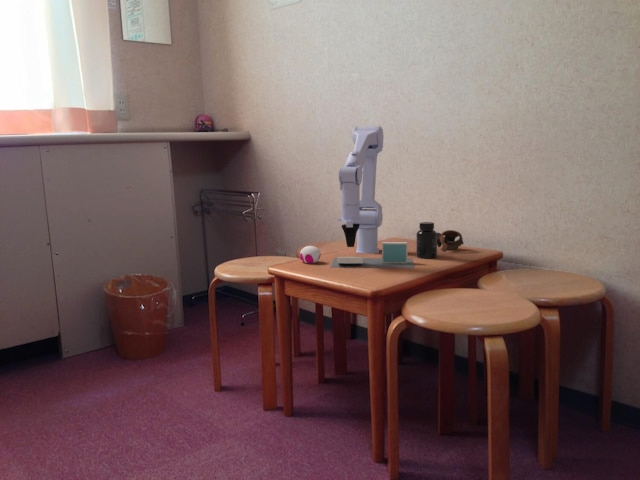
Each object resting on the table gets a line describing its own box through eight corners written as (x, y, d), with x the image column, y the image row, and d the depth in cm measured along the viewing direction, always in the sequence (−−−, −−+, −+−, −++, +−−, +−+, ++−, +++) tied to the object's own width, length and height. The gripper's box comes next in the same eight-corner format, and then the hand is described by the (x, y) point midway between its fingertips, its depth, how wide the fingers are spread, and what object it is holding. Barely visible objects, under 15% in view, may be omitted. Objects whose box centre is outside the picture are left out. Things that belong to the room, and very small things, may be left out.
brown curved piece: (466, 250, 207) (468, 232, 202) (455, 265, 201) (457, 247, 196) (436, 239, 213) (438, 222, 207) (424, 253, 207) (425, 236, 202)
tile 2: (381, 261, 183) (382, 242, 182) (406, 262, 182) (407, 242, 181) (382, 263, 181) (382, 243, 180) (407, 263, 180) (407, 243, 179)
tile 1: (338, 256, 182) (337, 257, 176) (363, 257, 182) (362, 257, 175) (338, 262, 182) (336, 263, 176) (363, 263, 182) (362, 263, 175)
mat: (334, 259, 191) (334, 257, 190) (412, 259, 188) (412, 258, 188) (330, 268, 176) (330, 267, 176) (414, 269, 173) (415, 267, 173)
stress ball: (298, 272, 186) (289, 258, 182) (311, 256, 190) (303, 241, 186) (315, 275, 181) (306, 260, 177) (328, 257, 185) (320, 242, 181)
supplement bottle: (431, 255, 194) (432, 221, 192) (440, 259, 188) (441, 223, 186) (413, 256, 193) (413, 221, 191) (421, 260, 186) (421, 224, 184)
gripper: (339, 202, 187) (339, 242, 189) (336, 206, 173) (336, 250, 175) (360, 202, 186) (360, 242, 188) (359, 206, 172) (359, 250, 174)
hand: (350, 246), depth 181 cm, fingers closed
